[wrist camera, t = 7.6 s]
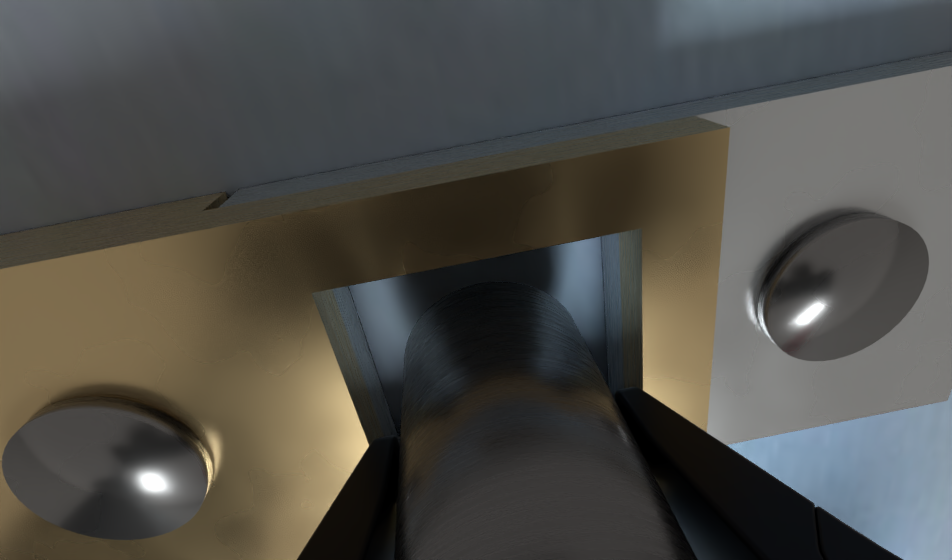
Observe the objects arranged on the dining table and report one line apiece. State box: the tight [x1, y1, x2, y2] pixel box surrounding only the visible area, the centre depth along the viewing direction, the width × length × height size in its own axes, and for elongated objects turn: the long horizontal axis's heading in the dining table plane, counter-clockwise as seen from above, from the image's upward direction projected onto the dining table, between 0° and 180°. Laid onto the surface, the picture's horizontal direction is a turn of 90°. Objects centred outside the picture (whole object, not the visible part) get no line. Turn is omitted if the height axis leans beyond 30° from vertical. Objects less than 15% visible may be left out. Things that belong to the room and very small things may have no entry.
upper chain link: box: [0, 116, 730, 560], centre depth 11 cm, size 9×16×3 cm, turn 99°
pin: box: [394, 282, 698, 560], centre depth 8 cm, size 4×4×7 cm
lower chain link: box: [219, 51, 952, 445], centre depth 12 cm, size 9×16×2 cm, turn 100°
